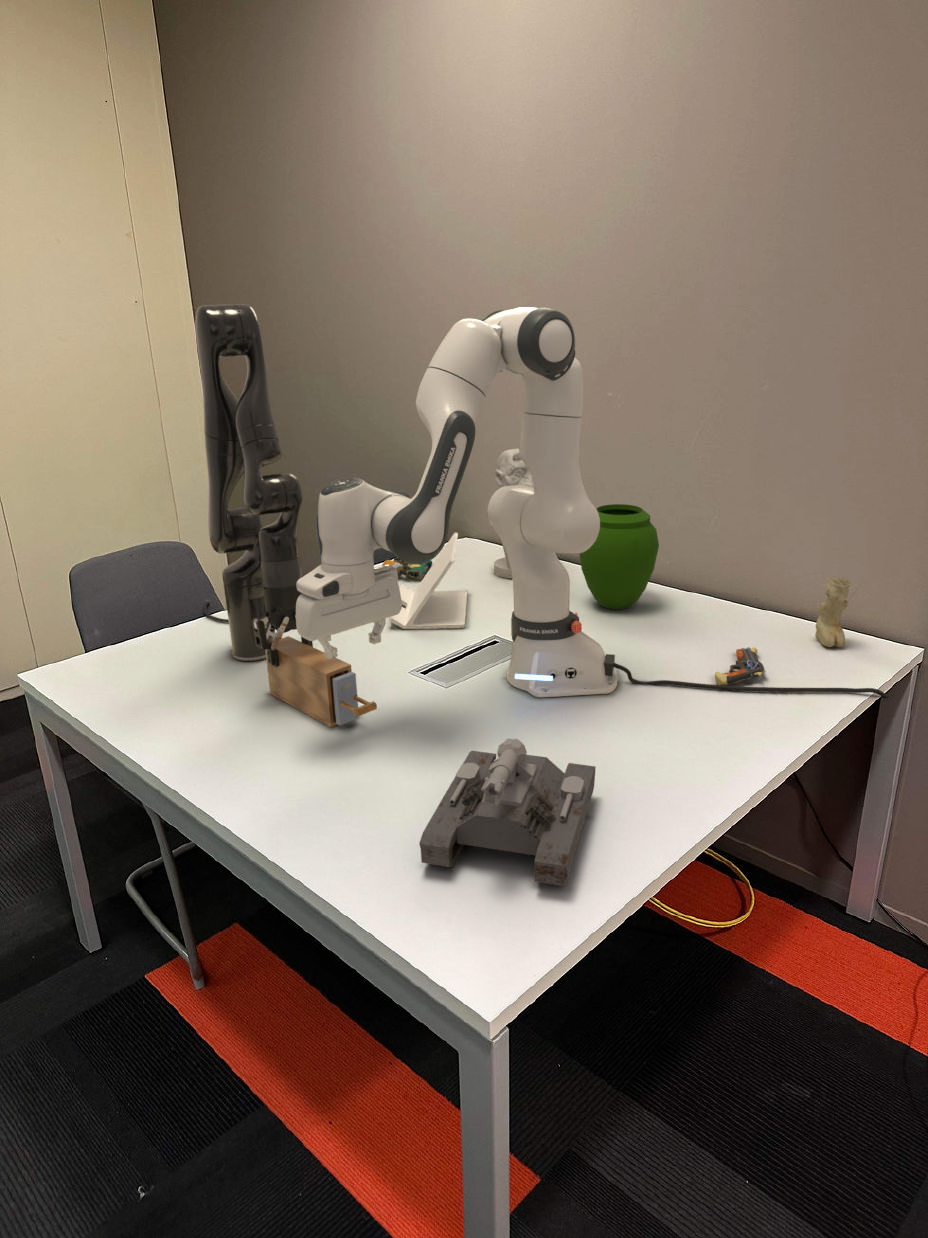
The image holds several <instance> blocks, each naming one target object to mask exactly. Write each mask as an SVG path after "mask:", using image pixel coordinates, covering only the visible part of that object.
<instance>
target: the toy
mask: <svg viewBox="0 0 928 1238" xmlns="http://www.w3.org/2000/svg"><path fill="white" fill-rule="evenodd" d="M527 752H528V751H527V748H526V745H525V744H524V743H523V742H522V741H521V740H520V739H518V738H506V739H505V740H504V741H502V742H501V743H500V744H499V745H498V748H497V753H493V752H487V751H478V750H471V751H469V752H468V754H467V756H466V757H465V759H464V761H463V763H462V764H461V765H460V766H459V768H458V770H457V772H456V774H455V776H454V778H453V780H452V781H451V783H450V785H449V787H448V788H447V790H446V791H445V794H444V795H443V797H442V799H441V800H440V802H439V804H438V806H437V807H436V809H435V811H434V812H433V814H432V816H431V817H430V819H429V821H428V823H427V824H426V826H425V828H424V830H423V832H422V833H421V837H420V840H419V842H418V843H419V844H418V845H419V848H420V858H421V863H422V864H429V865H435V866H441V867H447V868H454V866H455V864H456V863H457V860H458V858H459V856H460V854H461V852H462V850H463V848H464V846H471V847H472V846H473V847H477V848H483V849H484V848H485V849H490V850H497V851H503V852H509V853H510V852H511V853H517V854H523V855H530V856H535V858H534V882H535V883H536V882H537V883H543V884H549V885H556V886H560V887H561V886H562V887H565V886H566V884H567V880H568V879H569V875H570V873H571V869H572V865H573V862H574V859H575V855H576V852H577V848H578V845H579V843H580V842H579V841H580V838H581V834H582V831H583V828H584V825H585V821H586V817H587V814H588V811H589V807H590V804H591V801H592V797H593V793H594V789H595V782H596V768H597V766H595V765H594V766H593V765H588V764H581V763H572V762H568V763H567V766H566V768H565V771H563V770H561V769H560V768H559V767H558V766H557V765H556V764H555V763H554V762H553V761H551V760H550V758H548V757H547V756H541V755H533V754H527Z"/></svg>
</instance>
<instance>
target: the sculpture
mask: <svg viewBox="0 0 928 1238" xmlns="http://www.w3.org/2000/svg"><path fill="white" fill-rule="evenodd" d="M826 581H827V586H826V588H825V590H824V593H825V595H826V596H827V598H826V600H824V601H822V602H821V603H820V604H819V605H818V606H817V609H816V610H817V612H818V614H819V616H818V617H817V619H816V623H815V630H816V631H815V634H814V635H815V639H817V640H819V642H820V643H821V644H822V645H823V646H825V647H827V648H832V647H834V646H835V647H843V646H844V645H845V643H846V642H845V641H846V636H845V632H844V630H843V626H842V624H841V622H840V621H841V617H842V615H843V612H844V610H845V609H846V608H847V606H848V604H849V603H848V602H849V601H847V598H848V597H849V592H850V586H851V585H852V582H850V580H848V579H847V578H845V577H841V576H840V577H835V578H831V577H827V578H826Z"/></svg>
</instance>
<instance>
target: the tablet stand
mask: <svg viewBox="0 0 928 1238" xmlns="http://www.w3.org/2000/svg"><path fill="white" fill-rule="evenodd" d="M458 537H459V533H458V532H456V531H455V532H453V534H452V535H451V537H450V539H449V540H448V542H446V544H445V545H444V547H443V549H442V550H441V551H440V553H439V554H438V555H437V558H436V559H435V561H434V562H433V563H432V566H431V567H430V568H429V569H428V571H427V572H426V573H425V575H424V576H423V579H422V580H421V581H420V583H419V584H418V585H417V587H416V589H415V590H412V589H410V588H409V587H407V586H406V585H403V584H400V585H399V589H400V594H401V601H402V609H401V611H400V613H399V614H398V615H394V616H391V617H388V621H389V622H391V623H392V624H394V625H396V626H398V627H399V628H401V629H402V630H426V629H427V630H429V629H430V630H431V629H435V630H436V629H437V630H438V629H464V628H465V627H466V618H467V617H466V616H467V605H468V591H467V590H436V589H437V587H438V585H440V582H441V581H442V580H443V578H444V577H445V575H446V574H447V573H448V571H449V570H450V569H451V567H452V566H453V564H454V562H455V558H456V553H457V545H458ZM403 606H405V607H403Z"/></svg>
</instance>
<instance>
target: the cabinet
mask: <svg viewBox="0 0 928 1238" xmlns="http://www.w3.org/2000/svg"><path fill="white" fill-rule="evenodd" d="M276 649H278V656H279V667H274V666H272V665H271V664H269V662H268V658H267V650H265V653H266V658H265V659H266V660H265V661H266V668H267V677H268V685H269V694H270V695H271V696H273V697H274V698H277V699H278V700H280V701H282V702H284V703H285V704H287V705H289V706H291V707H293V708H295V709H296V710H298V711H300V712H302V713H303V714H305V715H307V716H309V717H311V718H312V719H314V720H317V722H319V723H322V724H323V725H324V726H325V725H326V726H327V727H329V728H334V727H336V726H339V725H338V724H336V719H334V716H333V705H332V694H331V683H330V676H332V675H335V674H338V673H340V672H343V671H344V672H345V674H347V673H349V672H352V664H350V663H349V662H347V661H344V660H341V659H339V658H337V657H335V658H332V659H328V658H326V657H325V651H322V650H320V649H318V648H316V647H314V646H313V647H311V646H309V645H307V644H305V643H302V642H301V641H300V640H298V639H296V638H293V637H291V636H289V635H288V636H284V637H282V638H281V639H280V640H279V642H278V645H277V647H276Z"/></svg>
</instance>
